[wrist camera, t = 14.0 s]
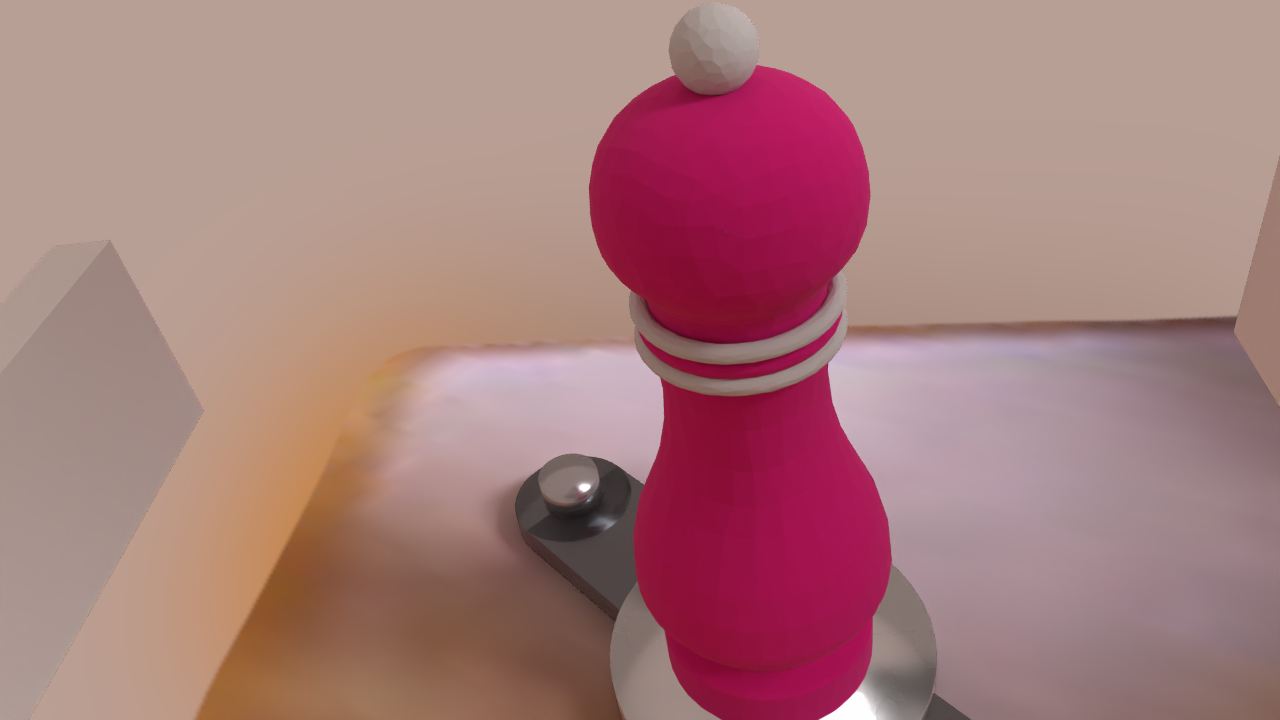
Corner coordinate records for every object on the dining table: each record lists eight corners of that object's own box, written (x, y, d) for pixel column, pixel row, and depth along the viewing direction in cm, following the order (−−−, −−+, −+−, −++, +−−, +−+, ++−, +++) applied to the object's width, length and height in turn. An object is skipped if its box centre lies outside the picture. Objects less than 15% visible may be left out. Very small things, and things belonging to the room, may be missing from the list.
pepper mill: (935, 622, 32) (978, -35, 20) (795, 799, 28) (742, 123, 16) (748, 520, 36) (689, -73, 24) (606, 661, 33) (447, 44, 20)
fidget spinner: (437, 561, 39) (422, 520, 37) (637, 422, 43) (630, 382, 42) (1023, 1133, 23) (1033, 1099, 22) (1239, 822, 28) (1258, 778, 26)
